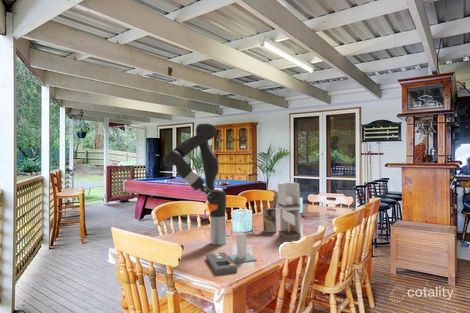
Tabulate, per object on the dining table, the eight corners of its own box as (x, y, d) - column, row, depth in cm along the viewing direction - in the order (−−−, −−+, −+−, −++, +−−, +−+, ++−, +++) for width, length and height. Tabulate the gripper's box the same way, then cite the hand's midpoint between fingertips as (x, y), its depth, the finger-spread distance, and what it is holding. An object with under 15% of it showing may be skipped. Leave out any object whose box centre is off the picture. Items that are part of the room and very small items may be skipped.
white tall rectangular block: (237, 256, 172) (236, 233, 172) (244, 255, 173) (243, 233, 173) (239, 259, 168) (238, 235, 168) (246, 258, 169) (246, 234, 169)
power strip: (205, 256, 175) (204, 251, 175) (222, 254, 177) (222, 249, 177) (216, 274, 148) (216, 268, 148) (237, 272, 151) (237, 265, 151)
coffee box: (276, 230, 232) (276, 207, 232) (276, 232, 226) (275, 209, 226) (263, 230, 234) (263, 207, 234) (263, 232, 227) (262, 209, 227)
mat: (228, 256, 175) (228, 255, 175) (249, 254, 178) (249, 252, 178) (234, 263, 163) (234, 262, 163) (256, 260, 166) (256, 259, 166)
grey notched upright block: (279, 233, 222) (277, 182, 222) (293, 232, 224) (292, 182, 224) (285, 237, 211) (284, 184, 211) (300, 236, 213) (299, 183, 213)
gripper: (201, 175, 166) (223, 196, 170) (196, 174, 180) (217, 193, 183) (191, 186, 165) (213, 207, 168) (187, 183, 179) (208, 203, 182)
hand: (215, 199), depth 176 cm, fingers open, 8 cm apart
